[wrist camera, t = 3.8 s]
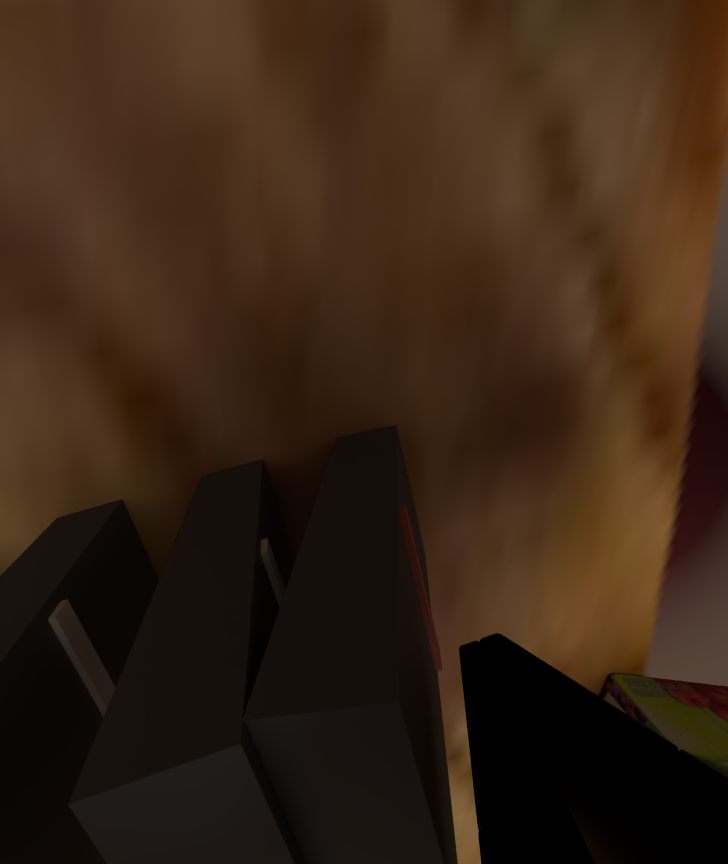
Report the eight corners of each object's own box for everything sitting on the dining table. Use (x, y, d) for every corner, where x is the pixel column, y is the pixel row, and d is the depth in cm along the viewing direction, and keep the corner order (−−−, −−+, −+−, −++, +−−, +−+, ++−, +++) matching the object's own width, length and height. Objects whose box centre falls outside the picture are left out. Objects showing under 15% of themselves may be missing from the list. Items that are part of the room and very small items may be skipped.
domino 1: (127, 498, 14) (-152, 881, 5) (183, 623, 16) (53, 1092, 7) (56, 518, 14) (-375, 960, 5) (121, 643, 16) (-106, 1159, 6)
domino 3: (400, 425, 15) (411, 701, 5) (429, 553, 16) (475, 938, 7) (336, 438, 15) (241, 720, 6) (370, 563, 17) (340, 945, 7)
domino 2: (267, 457, 15) (252, 740, 5) (308, 583, 16) (353, 968, 7) (201, 476, 15) (68, 804, 5) (249, 601, 16) (214, 1026, 7)
